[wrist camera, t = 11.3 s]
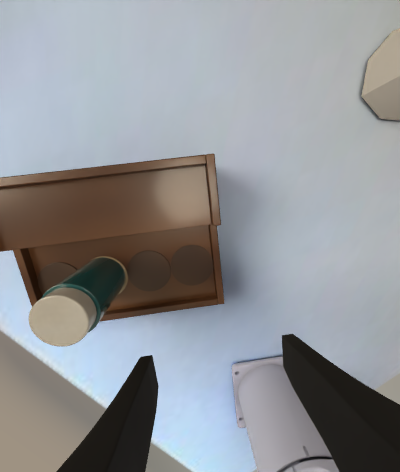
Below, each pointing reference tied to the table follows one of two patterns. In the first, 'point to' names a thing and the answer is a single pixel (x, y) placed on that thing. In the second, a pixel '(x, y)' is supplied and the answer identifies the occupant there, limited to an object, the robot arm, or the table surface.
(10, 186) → the spice shelf
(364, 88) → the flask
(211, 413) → the table surface
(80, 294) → the cylinder
